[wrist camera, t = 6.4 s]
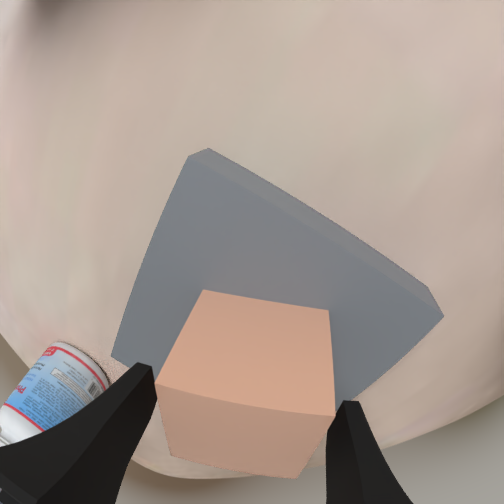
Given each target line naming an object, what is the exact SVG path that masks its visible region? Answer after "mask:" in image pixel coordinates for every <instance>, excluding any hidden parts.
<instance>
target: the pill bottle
mask: <svg viewBox="0 0 504 504" xmlns="http://www.w3.org/2000/svg"><path fill="white" fill-rule="evenodd" d="M107 388H109V384H108V381H107V378H106V376H105V374H104V373H103V371H102V370H101V369H100V367H99V366H98V365H97V364H96V363H95V362H94V361H93V360H92V359H91V358H90V357H88V356H87V355H86V354H84V353H83V352H81V351H80V350H78V349H76V348H75V347H73V346H71V345H69V344H66V343H62V342H56V343H53V344H52V345H51V346H50V347H49V348H48V349H47V350H46V351H45V352H44V353H43V355H42V356H41V357H40V358H39V360H38V361H37V362H36V363H35V364H34V366H33V367H32V368H31V369H30V371H29V372H28V373H27V374H26V376H25V377H24V378H23V380H22V381H21V382H20V383H19V385H18V386H17V387H16V389H15V390H14V391H13V392H12V394H11V395H10V396H9V398H8V399H7V400H6V402H5V403H4V404H3V406H2V407H1V409H0V426H1V428H2V432H1V433H0V447H1V446H5V445H9V444H12V443H16V442H19V441H22V440H24V439H27V438H29V437H32V436H34V435H37V434H39V433H41V432H43V431H45V430H47V429H49V428H51V427H53V426H55V425H57V424H59V423H61V422H62V421H64V420H66V419H67V418H69V417H70V416H72V415H73V414H75V413H76V412H78V411H79V410H81V409H82V408H83V407H85V406H86V405H87V404H89V403H90V402H91V401H93V400H94V399H95V398H97V397H98V396H99V395H100V394H101V393H103V392H104V391H105V390H106V389H107Z"/></svg>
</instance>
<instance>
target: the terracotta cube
mask: <svg viewBox="0 0 504 504" xmlns="http://www.w3.org/2000/svg"><path fill="white" fill-rule="evenodd" d="M154 384H155V389H156V394H157V399H158V403H159V408H160V412H161V417H162V421H163V425H164V430H165V434H166V438H167V442H168V445H169V449H170V453H171V456H174V457H178V458H182V459H185V460H189V461H193V462H197V463H201V464H205V465H209V466H214V467H218V468H223V469H228V470H233V471H239V472H245V473H251V474H257V475H264V476H272V477H281V478H290V479H291V478H292V479H296V478H297V477H298V476H299V474H300V473H301V471H302V470H303V468H304V467H305V465H306V464H307V462H308V461H309V459H310V458H311V456H312V454H313V453H314V451H315V450H316V448H317V447H318V445H319V443H320V442H321V440H322V438H323V437H324V435H325V433H326V432H327V430H328V428H329V427H330V425H331V423H332V421H333V420H334V418H335V416H336V415H335V391H334V373H333V358H332V344H331V332H330V321H329V310H323V309H317V308H310V307H303V306H297V305H290V304H284V303H278V302H272V301H266V300H260V299H254V298H248V297H242V296H236V295H231V294H225V293H220V292H214V291H209V290H202V292H201V294H200V296H199V298H198V300H197V302H196V304H195V306H194V307H193V309H192V311H191V313H190V315H189V317H188V319H187V321H186V323H185V325H184V326H183V328H182V330H181V332H180V334H179V336H178V338H177V340H176V342H175V344H174V346H173V348H172V350H171V352H170V353H169V355H168V357H167V359H166V361H165V363H164V365H163V367H162V369H161V371H160V373H159V375H158V377H157V379H156V381H155V383H154Z"/></svg>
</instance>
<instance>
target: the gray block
mask: <svg viewBox="0 0 504 504" xmlns="http://www.w3.org/2000/svg"><path fill="white" fill-rule="evenodd" d="M202 290H209V291H214V292H220V293H225V294H231V295H236V296H242V297H248V298H254V299H260V300H266V301H272V302H278V303H284V304H290V305H297V306H303V307H310V308H317V309H323V310H329V321H330V332H331V344H332V358H333V373H334V391H335V412H336V411H337V410H338V409H339V407H340V405H341V403H342V401H343V400H347V401H350V400H352V399H353V398H354V397H356V396H357V395H358V394H360V393H361V392H362V391H363V390H365V389H366V388H367V387H368V386H370V385H371V384H372V383H373V382H375V381H376V380H377V379H378V378H379V377H381V376H382V375H383V374H384V373H385V372H386V371H388V370H389V369H390V368H391V367H392V366H393V365H394V364H396V363H397V362H398V361H399V360H400V359H401V358H402V357H403V356H404V355H406V354H407V353H408V352H409V351H410V350H411V349H412V348H413V347H414V346H415V345H416V344H417V343H418V342H419V341H420V340H421V339H422V338H423V337H424V336H425V335H426V334H427V333H428V332H429V331H430V330H431V329H432V328H433V327H434V326H435V325H436V324H437V323H438V322H439V321H440V320H441V319H442V318H443V317H444V315H443V313H442V311H441V310H440V308H439V306H438V304H437V302H436V301H435V299H434V297H433V296H432V294H431V292H430V290H429V289H428V287H427V286H426V285H424V284H423V283H422V282H420V281H419V280H418V279H416V278H415V277H413V276H412V275H411V274H409V273H408V272H407V271H405V270H404V269H402V268H401V267H400V266H398V265H397V264H395V263H394V262H392V261H391V260H390V259H388V258H387V257H385V256H384V255H382V254H381V253H380V252H378V251H377V250H375V249H374V248H372V247H371V246H369V245H368V244H366V243H365V242H363V241H362V240H360V239H359V238H358V237H356V236H355V235H353V234H351V233H350V232H348V231H347V230H345V229H344V228H342V227H341V226H339V225H338V224H336V223H335V222H333V221H332V220H330V219H328V218H327V217H325V216H324V215H322V214H321V213H319V212H317V211H316V210H314V209H313V208H311V207H309V206H308V205H306V204H305V203H303V202H301V201H300V200H298V199H297V198H295V197H293V196H292V195H290V194H288V193H287V192H285V191H283V190H282V189H280V188H278V187H277V186H275V185H273V184H272V183H270V182H268V181H267V180H265V179H263V178H261V177H260V176H258V175H256V174H254V173H253V172H251V171H249V170H248V169H246V168H244V167H242V166H240V165H239V164H237V163H235V162H233V161H232V160H230V159H228V158H226V157H224V156H223V155H221V154H219V153H217V152H215V151H213V150H212V149H210V148H207V149H205V150H202V151H200V152H197V153H195V154H193V155H190V156H188V158H187V160H186V162H185V164H184V166H183V168H182V170H181V172H180V175H179V177H178V179H177V181H176V183H175V185H174V188H173V190H172V192H171V194H170V197H169V199H168V201H167V203H166V206H165V208H164V210H163V213H162V215H161V217H160V220H159V222H158V224H157V227H156V229H155V232H154V234H153V236H152V239H151V241H150V244H149V246H148V249H147V252H146V254H145V257H144V259H143V262H142V264H141V267H140V270H139V272H138V275H137V278H136V281H135V283H134V286H133V289H132V292H131V295H130V297H129V300H128V303H127V306H126V309H125V312H124V315H123V318H122V321H121V324H120V327H119V331H118V334H117V337H116V340H115V343H114V347H113V350H112V353H111V357H113V358H114V359H116V360H117V361H119V362H121V363H122V364H124V365H126V366H127V367H129V368H131V367H132V366H133V365H134V364H135V363H137V362H140V363H143V364H146V365H150V366H152V369H153V375H154V380H155V381H156V379H157V377H158V375H159V373H160V371H161V369H162V367H163V365H164V363H165V361H166V359H167V357H168V355H169V353H170V352H171V350H172V348H173V346H174V344H175V342H176V340H177V338H178V336H179V334H180V332H181V330H182V328H183V326H184V325H185V323H186V321H187V319H188V317H189V315H190V313H191V311H192V309H193V307H194V306H195V304H196V302H197V300H198V298H199V296H200V294H201V292H202Z"/></svg>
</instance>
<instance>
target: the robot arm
mask: <svg viewBox="0 0 504 504" xmlns="http://www.w3.org/2000/svg"><path fill="white" fill-rule="evenodd" d="M154 383H155V380H154V375H153V369H152V366H150V365H146V364H143V363H140V362H137V363H135V364H134V365H133V366H132V367H131V368H130V369H129V370H128V371H127V372H126V373H124V374H123V375H122V376H121V377H120V378H119V379H118V380H117V381H116V382H114V383H113V384H112V385H111V386H110V387H109V388H107V389H106V390H105V391H104V392H103V393H101V394H100V395H99V396H98V397H97V398H95V399H94V400H93V401H91V402H90V403H89V404H87V405H86V406H85V407H83V408H82V409H81V410H79V411H78V412H76V413H75V414H73V415H72V416H70V417H69V418H67V419H66V420H64V421H62V422H61V423H59V424H57V425H55V426H53V427H51V428H49V429H47V430H45V431H43V432H41V433H39V434H37V435H34V436H32V437H29V438H27V439H24V440H22V441H19V442H16V443H12V444H9V445H5V446H1V447H0V504H115V502H116V499H117V495H118V492H119V489H120V486H121V482H122V480H123V477H124V474H125V471H126V468H127V466H128V463H129V461H130V459H131V457H132V455H133V453H134V451H135V449H136V447H137V445H138V443H139V441H140V439H141V437H142V435H143V433H144V431H145V429H146V427H147V425H148V423H149V421H150V419H151V416H152V413H153V410H154V408H155V405H156V402H157V394H156V389H155V384H154ZM335 415H336V416H335V418H334V420H333V421H332V423H331V425H330V427H329V428H328V431H327V441H326V488H327V489H326V491H327V500H326V504H413V503H412V502H411V500H410V499H409V498H408V496H407V495H406V493H405V492H404V491H403V489H402V488H401V486H400V485H399V483H398V482H397V480H396V478H395V477H394V475H393V473H392V472H391V470H390V468H389V466H388V464H387V462H386V461H385V459H384V457H383V455H382V453H381V451H380V448H379V446H378V444H377V442H376V440H375V438H374V436H373V434H372V431H371V429H370V427H369V424H368V422H367V419H366V417H365V415H364V412H363V410H362V407H361V404H360V403H359V401H347V400H343V401H342V403H341V405H340V407H339V409H338V411H337V412H336V414H335Z"/></svg>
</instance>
